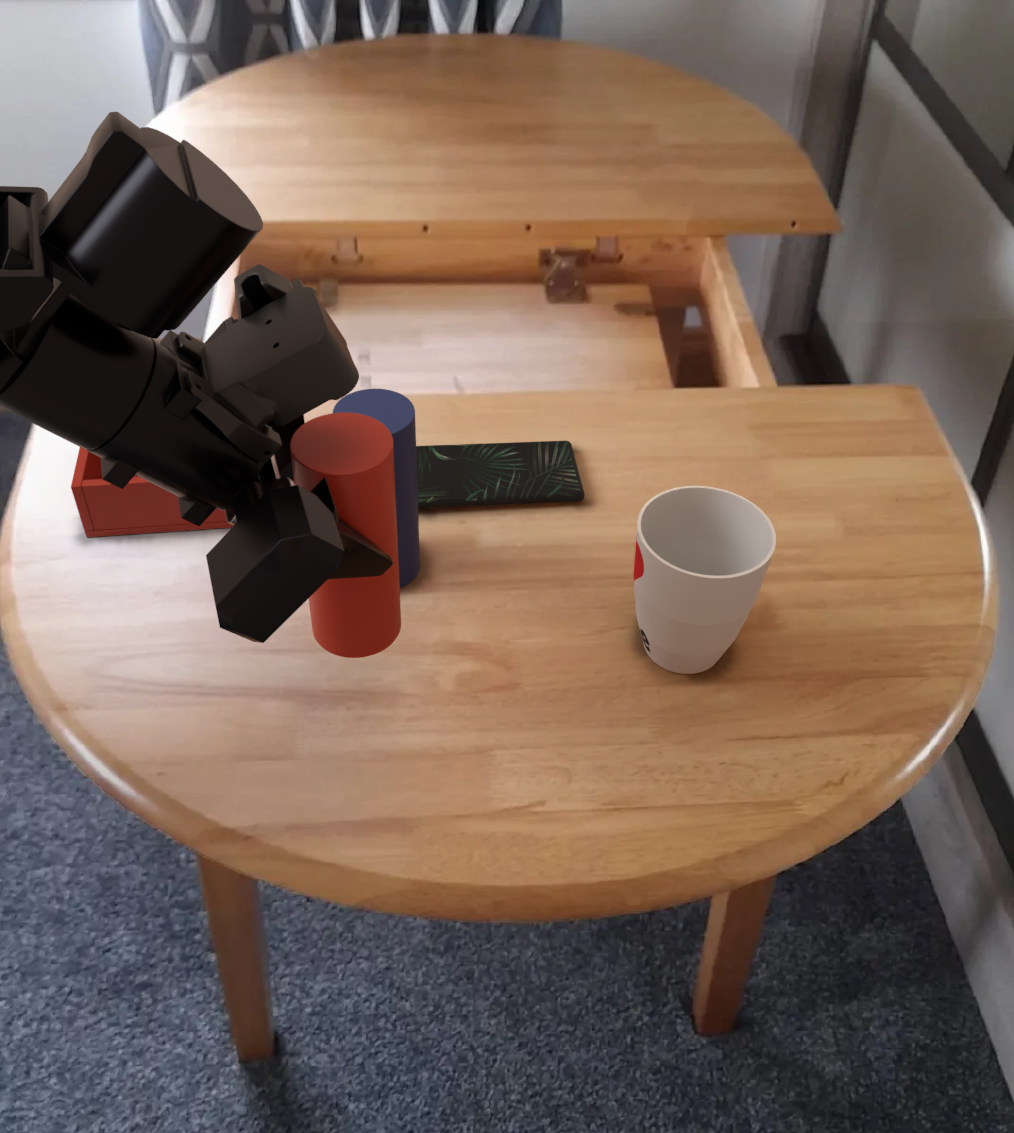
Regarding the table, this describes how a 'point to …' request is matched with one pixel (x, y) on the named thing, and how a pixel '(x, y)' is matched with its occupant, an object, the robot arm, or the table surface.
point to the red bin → (128, 504)
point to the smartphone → (497, 474)
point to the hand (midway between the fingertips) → (375, 534)
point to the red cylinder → (367, 503)
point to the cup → (697, 573)
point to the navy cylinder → (396, 466)
